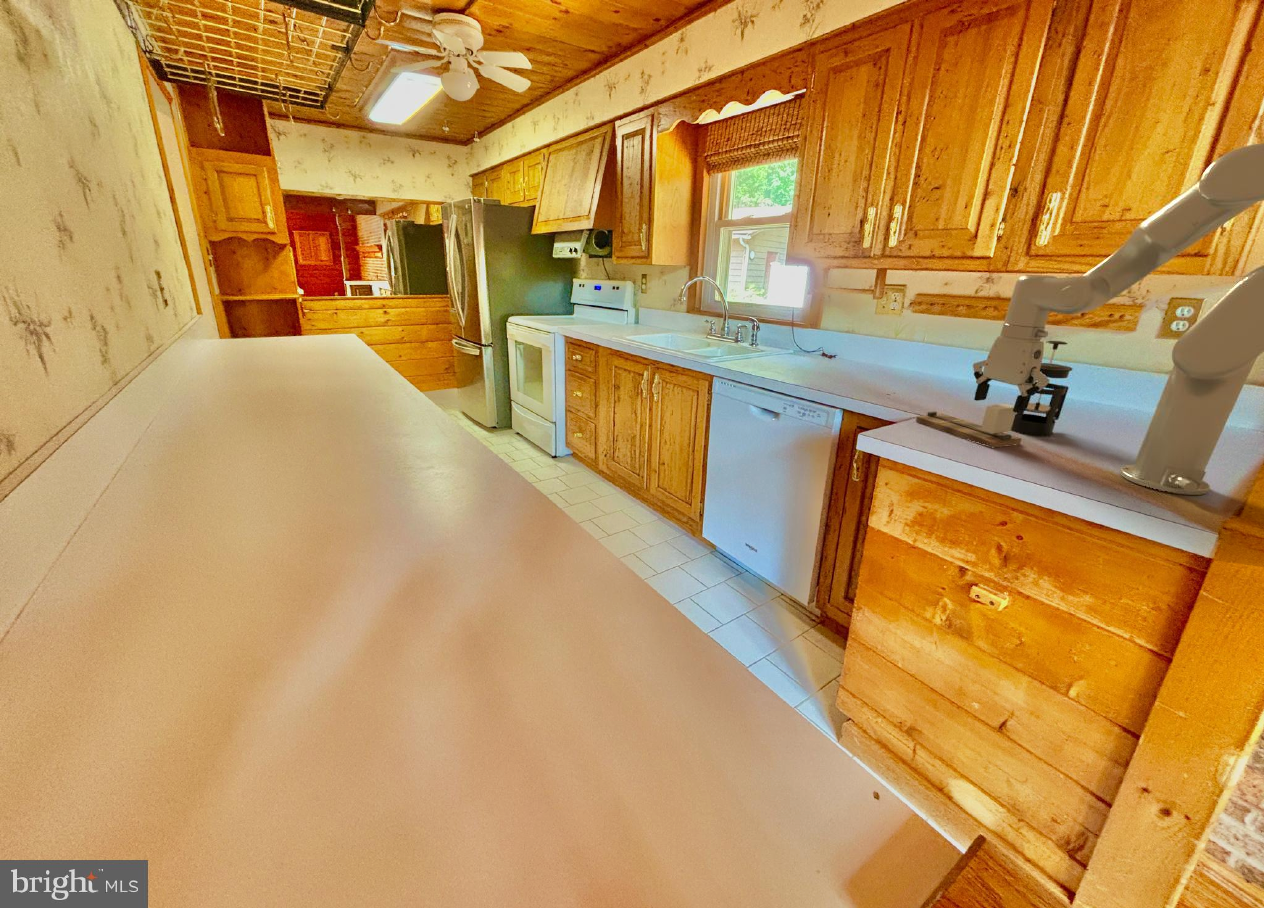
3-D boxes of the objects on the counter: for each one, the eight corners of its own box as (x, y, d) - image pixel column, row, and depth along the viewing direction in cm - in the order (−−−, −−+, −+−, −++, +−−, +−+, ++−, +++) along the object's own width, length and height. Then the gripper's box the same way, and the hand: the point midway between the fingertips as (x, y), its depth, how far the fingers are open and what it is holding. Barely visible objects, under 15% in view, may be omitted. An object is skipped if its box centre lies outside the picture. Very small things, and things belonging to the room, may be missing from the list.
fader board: (1019, 444, 121) (1022, 434, 120) (992, 448, 118) (995, 438, 117) (940, 418, 140) (942, 410, 139) (915, 421, 138) (917, 413, 137)
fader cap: (1009, 434, 122) (1017, 407, 119) (991, 436, 120) (999, 409, 117) (997, 430, 124) (1005, 403, 122) (979, 433, 122) (986, 406, 120)
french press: (1026, 437, 126) (1054, 344, 117) (996, 425, 134) (1020, 338, 126) (1068, 435, 127) (1099, 343, 119) (1036, 424, 136) (1062, 337, 127)
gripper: (1074, 339, 107) (1047, 415, 114) (996, 326, 122) (976, 394, 129) (1050, 340, 105) (1023, 418, 111) (974, 327, 120) (954, 397, 126)
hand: (998, 405), depth 120 cm, fingers open, 9 cm apart
